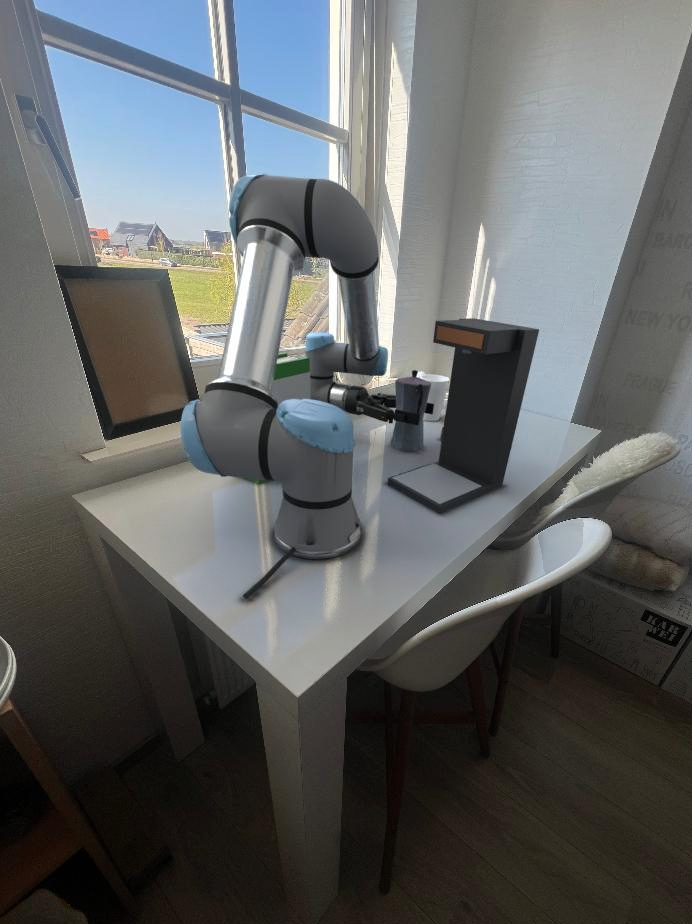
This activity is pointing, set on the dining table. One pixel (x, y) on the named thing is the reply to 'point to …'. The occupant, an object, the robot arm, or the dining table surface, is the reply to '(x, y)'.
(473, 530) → the dining table surface
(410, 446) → the moka pot
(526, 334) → the coffee maker
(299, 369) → the hardback book
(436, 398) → the foam cup
